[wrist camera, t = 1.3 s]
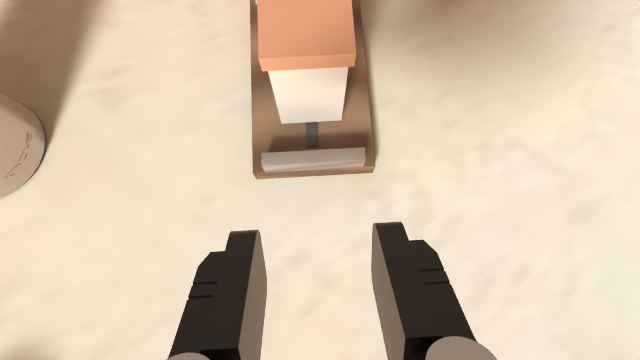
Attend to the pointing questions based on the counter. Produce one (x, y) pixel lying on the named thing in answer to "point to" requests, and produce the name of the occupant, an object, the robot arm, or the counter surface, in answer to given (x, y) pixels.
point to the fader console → (311, 124)
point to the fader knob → (307, 56)
